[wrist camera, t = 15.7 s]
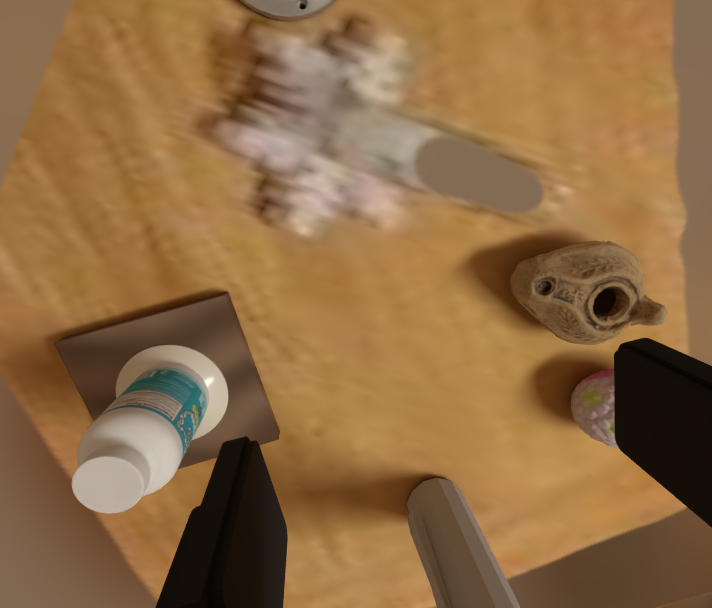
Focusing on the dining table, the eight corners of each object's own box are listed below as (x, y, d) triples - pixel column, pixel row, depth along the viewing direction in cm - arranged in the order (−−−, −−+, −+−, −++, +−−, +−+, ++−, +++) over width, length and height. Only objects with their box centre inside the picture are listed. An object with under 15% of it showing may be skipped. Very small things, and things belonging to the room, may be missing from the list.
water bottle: (473, 486, 49) (628, 761, 25) (438, 531, 50) (552, 835, 26) (415, 456, 47) (523, 725, 23) (380, 504, 48) (446, 807, 24)
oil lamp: (501, 235, 41) (544, 243, 33) (630, 239, 43) (700, 248, 35) (488, 333, 44) (525, 362, 36) (610, 333, 45) (670, 361, 38)
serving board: (63, 337, 39) (52, 344, 37) (228, 291, 39) (224, 295, 38) (133, 474, 44) (126, 485, 42) (279, 431, 44) (278, 440, 42)
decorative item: (676, 456, 45) (702, 473, 36) (567, 433, 50) (568, 444, 42) (679, 377, 46) (706, 376, 37) (573, 364, 52) (574, 360, 43)
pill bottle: (192, 436, 41) (137, 544, 28) (123, 407, 40) (31, 509, 27) (224, 379, 40) (181, 465, 27) (154, 347, 38) (73, 422, 25)
